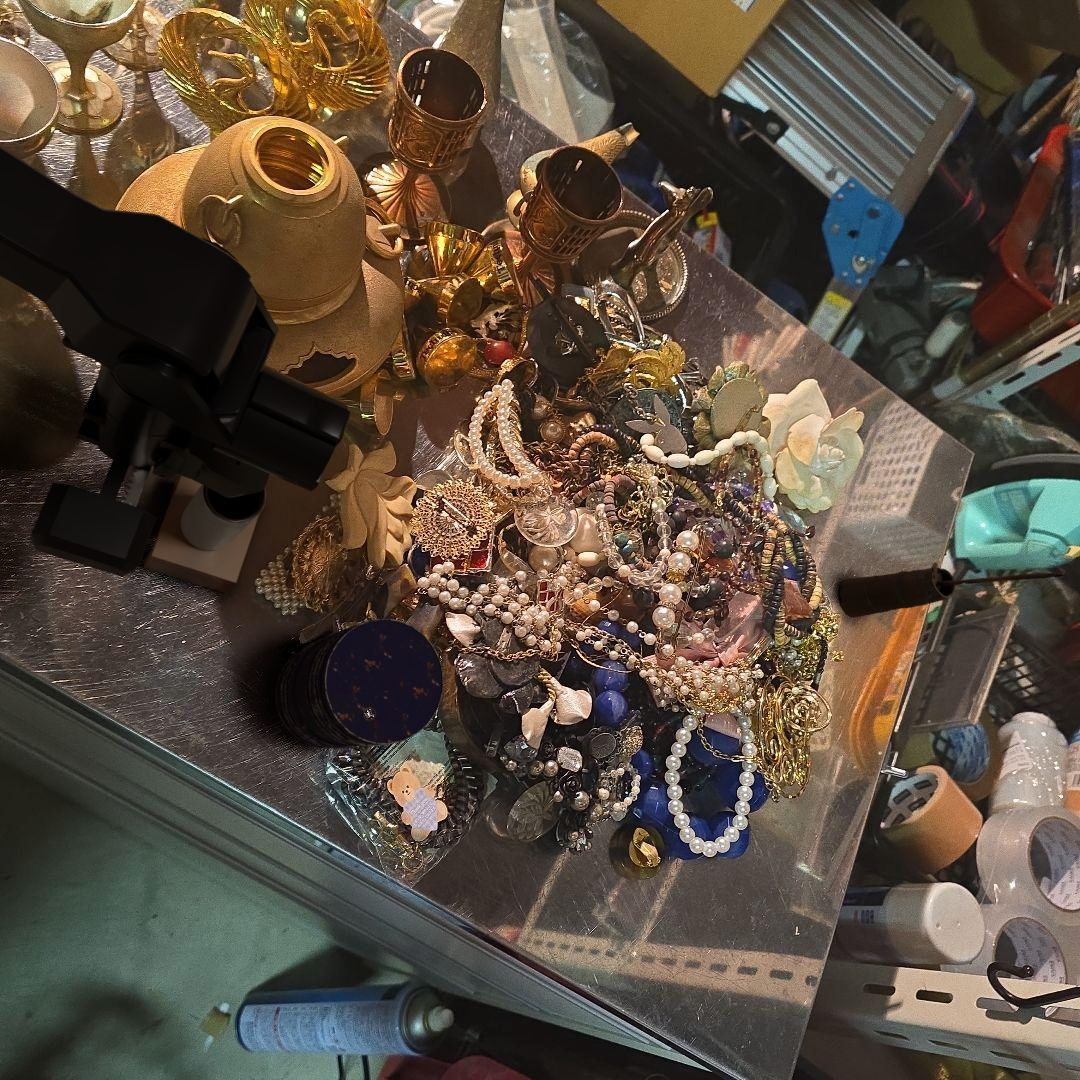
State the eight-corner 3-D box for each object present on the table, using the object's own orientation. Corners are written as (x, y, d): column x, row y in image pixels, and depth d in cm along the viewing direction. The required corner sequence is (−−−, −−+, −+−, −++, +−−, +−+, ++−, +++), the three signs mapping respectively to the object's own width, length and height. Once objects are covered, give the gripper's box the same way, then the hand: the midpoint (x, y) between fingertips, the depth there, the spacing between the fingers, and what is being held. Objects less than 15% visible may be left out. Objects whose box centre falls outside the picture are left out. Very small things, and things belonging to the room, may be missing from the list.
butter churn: (810, 575, 116) (1013, 527, 93) (852, 548, 121) (1053, 495, 98) (840, 639, 116) (1049, 607, 93) (880, 609, 122) (1088, 571, 98)
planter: (245, 512, 76) (275, 479, 68) (224, 559, 75) (253, 532, 66) (193, 489, 75) (217, 453, 66) (171, 538, 73) (192, 507, 64)
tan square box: (143, 567, 76) (150, 556, 72) (174, 483, 79) (183, 467, 75) (224, 593, 79) (236, 583, 75) (252, 511, 82) (265, 497, 77)
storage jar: (308, 620, 82) (361, 593, 69) (397, 671, 85) (464, 654, 73) (253, 718, 78) (299, 709, 65) (349, 768, 81) (411, 768, 68)
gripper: (238, 583, 52) (188, 618, 65) (326, 317, 59) (265, 398, 72) (31, 516, 47) (22, 569, 60) (152, 235, 54) (120, 337, 67)
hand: (119, 463), depth 65 cm, fingers open, 9 cm apart
